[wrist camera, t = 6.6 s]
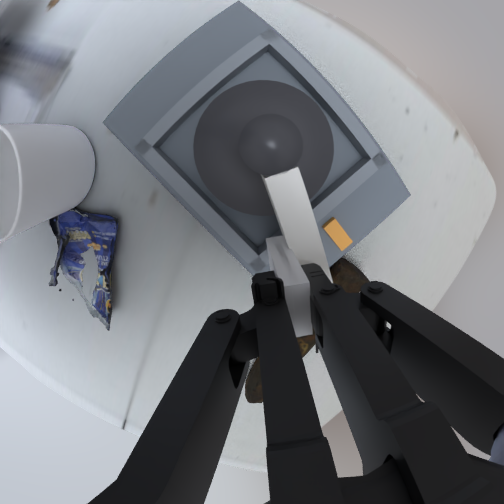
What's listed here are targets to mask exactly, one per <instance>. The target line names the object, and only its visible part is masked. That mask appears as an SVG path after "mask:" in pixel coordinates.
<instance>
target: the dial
mask: <svg viewBox="0 0 504 504" xmlns="http://www.w3.org/2000/svg"><path fill="white" fill-rule="evenodd" d="M193 150H194V159H195V164H196V167H197V170H198V173H199V175H200V177H201V179H202V181H203V182H204V184H205V185H206V187H207V188H208V190H209V191H210V192H211V193H212V194H213V195H214V196H215V197H216V198H217V199H218V200H220V201H221V202H222V203H224V204H225V205H227V206H229V207H231V208H232V209H234V210H237V211H240V212H242V213H246V214H250V215H257V216H272V215H276V218H277V220H278V223H279V226H280V229H281V232H282V235H284V237H285V240H286V242H287V245H288V247H289V249H292V250H293V252H294V254H295V256H296V258H297V260H298V261H299V263H300V265H305V264H310V263H315V264H317V265H319V266H321V268H322V269H323V271H324V272H325V274H326V275H327V277H328V278H329V280H330V281H331V283H333V281H332V277H331V273H330V269H329V266H328V262H327V258H326V255H325V251H324V248H323V244H322V241H321V237H320V234H319V230H318V227H317V224H316V220H315V217H314V214H313V210H312V207H311V204H310V201H309V200H310V199H311V198H312V197H313V196H314V195H315V194H316V193H317V192H318V191H319V190H320V188H321V187H322V186H323V184H324V182H325V181H326V179H327V177H328V175H329V172H330V170H331V166H332V162H333V156H334V141H333V135H332V131H331V127H330V125H329V122H328V120H327V118H326V116H325V115H324V113H323V111H322V110H321V108H320V107H319V106H318V105H317V103H316V102H315V101H313V100H312V99H311V98H310V97H309V96H308V95H307V94H305V93H304V92H302V91H301V90H299V89H297V88H295V87H293V86H291V85H288V84H286V83H282V82H278V81H272V80H255V81H248V82H244V83H241V84H238V85H235V86H233V87H231V88H229V89H227V90H226V91H224V92H222V93H221V94H220V95H219V96H217V97H216V98H215V99H214V100H213V101H212V102H211V103H210V104H209V105H208V107H207V108H206V109H205V111H204V112H203V114H202V116H201V118H200V119H199V122H198V125H197V127H196V131H195V135H194V144H193Z"/></svg>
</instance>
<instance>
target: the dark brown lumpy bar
mask: <svg viewBox="0 0 504 504" xmlns="http://www.w3.org/2000/svg"><path fill="white" fill-rule="evenodd" d="M329 269H330V273H331V277H332V281H333V283H335V284H338V285H340V286H341V287H342V288H343V289H344V290H345V292H347V293H359V292H360V290H361V286H362V285H363V284H365V283H368V282H370V281H369V280H368V278H367V277H366V276H365V275H364V274H363V273H362V271H360V270H359V269H358V268H357V267H356V266H354V265H353V264H352V263H350V262H348V261H347V260H346V259H343V258H340V259H339V260H337V261H336V262H335V263H334V265H333V267H331V268H329ZM312 330H313V334H311V335H306V336H301V337H296V338H297V341H298V345H299V348H300V352H301V355H302V358H303V357H304V356H305V355H306V354H307V353H308V352H309V351H310V350H311V348H312V347H313V346H314V345H315V344H316V340H315V331H314V328H313V326H312ZM245 396H246V399H247V401H248V402H249V403H262V402H263V394H262V383H261V372H260V361H259V357H258V358H257V360H256V361H255V363H254V365H253V367H252V369H251V371H250V373H249V375H248V378H247V380H246V384H245Z"/></svg>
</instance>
